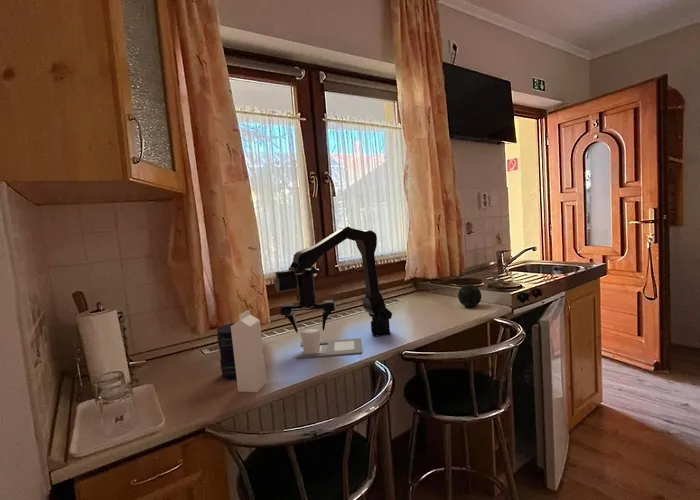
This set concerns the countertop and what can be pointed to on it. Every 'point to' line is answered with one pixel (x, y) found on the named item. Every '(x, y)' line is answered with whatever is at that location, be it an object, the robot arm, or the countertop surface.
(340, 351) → the label board
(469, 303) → the decorative stone
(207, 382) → the countertop surface
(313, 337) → the shot glass
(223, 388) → the countertop surface
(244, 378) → the milk
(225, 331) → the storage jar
